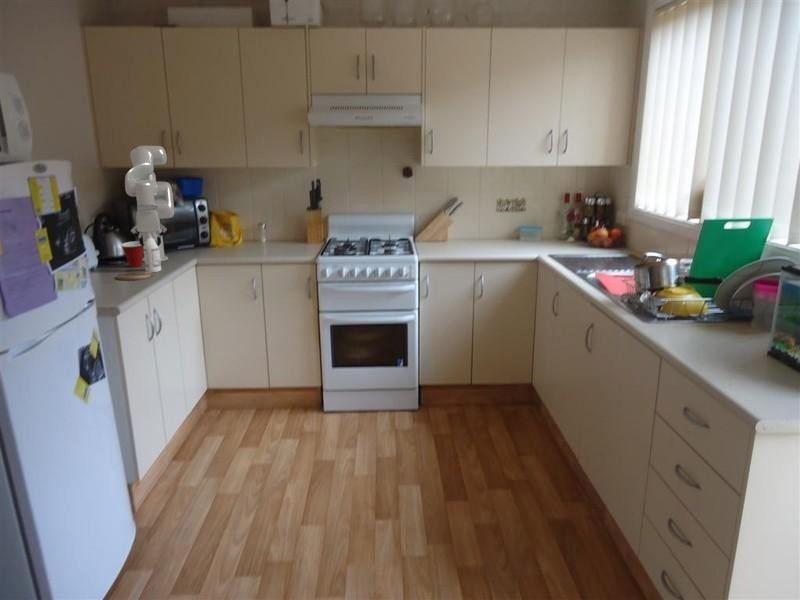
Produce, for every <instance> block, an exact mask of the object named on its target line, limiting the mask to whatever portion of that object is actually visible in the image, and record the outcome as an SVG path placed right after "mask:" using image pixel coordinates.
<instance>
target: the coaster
mask: <svg viewBox="0 0 800 600" xmlns="http://www.w3.org/2000/svg"><path fill="white" fill-rule="evenodd" d="M152 277H153V272H149V271H146V270H134V271H132V270H131V271H125V272H121V273H118V274H117V275H116V279H117V280H119V281H124V282H125V281H126V282H127V281H128V282H130V281H141V280H148V279H150V278H152Z"/></svg>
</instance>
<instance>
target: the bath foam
mask: <svg viewBox="0 0 800 600" xmlns="http://www.w3.org/2000/svg"><path fill="white" fill-rule="evenodd" d="M146 235H147V239H146V240H145V242H144V245H143V256H144V257H143V258H144V259H145V262H144V267H145V271H149V272H152V273H158V272H161V271H162V265H161V263H162V261H160V252H159V246H158V243H157V241H156V240H155V239H154V238H153V232H146Z"/></svg>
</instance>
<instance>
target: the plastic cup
mask: <svg viewBox="0 0 800 600" xmlns="http://www.w3.org/2000/svg"><path fill="white" fill-rule="evenodd" d="M120 247H122V250H123V252H124V254H125V259H126V261H127V264H128V267H130V268H141V267H143V261H142V259H143V258H144V257H143V256H144V250H143V246H141V245H140V241H139V240H135V241H128V242H124V243H121V244H120Z"/></svg>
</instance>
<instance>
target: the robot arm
mask: <svg viewBox="0 0 800 600" xmlns="http://www.w3.org/2000/svg"><path fill="white" fill-rule="evenodd" d="M166 152H167V151H166V149H165V148H164V147H163V146H160V145H139V146H137V147H136V148H134V149H132V150H131V151H130V154H129V156H130V161H131V164H132V167H131V168H130V169H129V170H128V171H127V173H126V174H125V178H124V188H125V192H126V194H127V195H128V196H130V197H136V205H137V211H136V215H135V216H136V217H135V218H136V219H135V222H136V225H135V226H133V227H132V229H130V232H131V233H132V234H133V235H134V236H135V237H138V241H140V245H141V246H143V245H144V242H145V240H146V239H147V235H146V232H153V238H154V239H155V240H156V241H157V243H158V246H159V252H160V261H161V262H164V261H167V260H169V257H168V256H167V255H165V249H164V239H163V235H164V234H165V233H166V231H167V230H168V229H167V227H165V226H164V225H163V224H161V221H160V219H171V218H173V217H174V215H175V204H174V194H173V189H172V186H171V184H170V183H169V182H166V181H157V179H156V174H155V172H154V166H155V165H156V166H157V165H158V166H159V165H160V166H162V165H166V163H167V159H168V157H167V153H166ZM138 232H139V233H138ZM142 262H144V263H145V259H144V257H143V259H142Z"/></svg>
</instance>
